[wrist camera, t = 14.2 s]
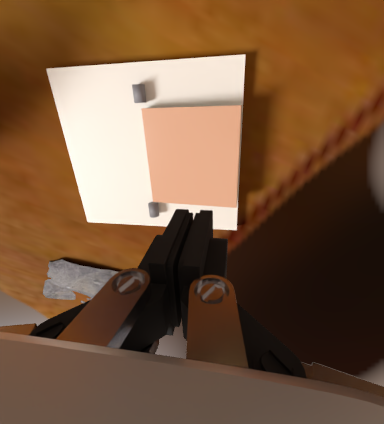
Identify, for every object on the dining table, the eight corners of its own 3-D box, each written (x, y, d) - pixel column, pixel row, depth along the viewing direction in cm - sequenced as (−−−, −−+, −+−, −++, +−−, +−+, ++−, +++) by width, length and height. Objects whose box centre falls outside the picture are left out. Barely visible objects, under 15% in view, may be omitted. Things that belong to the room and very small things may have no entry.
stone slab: (45, 300, 42) (29, 258, 37) (51, 292, 44) (37, 250, 38) (143, 319, 40) (142, 277, 35) (147, 309, 42) (146, 269, 37)
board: (52, 69, 25) (36, 67, 23) (245, 55, 22) (245, 52, 20) (91, 218, 33) (82, 226, 31) (236, 226, 30) (236, 235, 28)
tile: (241, 105, 21) (242, 104, 22) (141, 108, 23) (146, 107, 24) (236, 207, 25) (237, 203, 26) (152, 201, 28) (156, 197, 29)
